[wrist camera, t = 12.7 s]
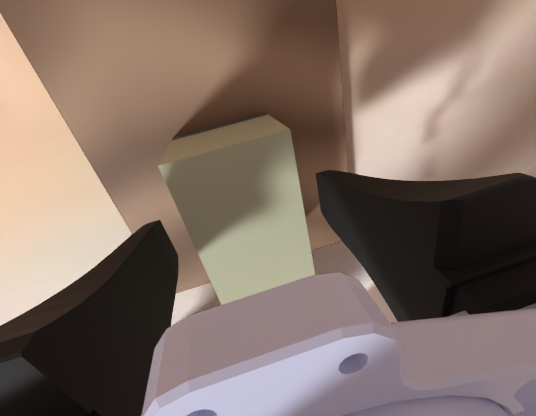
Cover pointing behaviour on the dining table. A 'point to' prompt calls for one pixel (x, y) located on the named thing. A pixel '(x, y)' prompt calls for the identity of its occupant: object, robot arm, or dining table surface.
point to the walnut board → (186, 90)
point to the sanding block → (241, 204)
